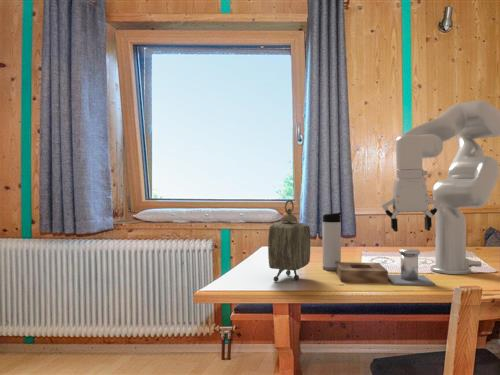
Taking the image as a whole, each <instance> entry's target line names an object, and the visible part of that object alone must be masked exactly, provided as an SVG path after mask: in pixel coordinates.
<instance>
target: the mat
mask: <svg viewBox="0 0 500 375" xmlns="http://www.w3.org/2000/svg"><path fill="white" fill-rule="evenodd" d="M388 282H390V283H391V284H392V285H393V286H420V287H421V286H422V287H424V286H425V287H426V286H427V287H436V286H437V285H436V284H437V283H435V282H433V280H431V279H429V278H428V277H426V276H425V275H424V274H423V275H421V274H418V280H417V281H407V280H402V279H401V274H388Z"/></svg>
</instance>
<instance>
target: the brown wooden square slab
mask: <svg viewBox="0 0 500 375" xmlns="http://www.w3.org/2000/svg"><path fill="white" fill-rule="evenodd" d="M336 274H337V276H338V279H339V280H340V282H341V283H342V282H343V283H345V282H346V283H347V282H348V283H381V284H382V283H383V284H384V283H385V284H386V283H387V284H388V283H389V280H388V275H389V272H388V269H386V268H385V267H384V266H383V265H382V264H381V263H380V262H348V261H347V262H346V261H345V262H344V261H341V262H337V271H336Z"/></svg>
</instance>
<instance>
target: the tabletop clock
mask: <svg viewBox="0 0 500 375" xmlns="http://www.w3.org/2000/svg"><path fill="white" fill-rule="evenodd" d="M284 203H285V204H284V209H285V212H286V214H284V215H283V216H282V218H281V220H280V221H277V222H274V223H271V225H270V226H269V230H268V238H267V239H268V240H267V241H268V242H267V248H268V249H267V250H268V252H267V254H268V257H267V258H268V265H269V268H270V269H274V270H278V272H277V275H276V276H274V277H273V282H276V283H277V282H278V281H279V276H280V275H281V273H283V271H285V275H287V276H290V275H291V274H292V273H291V271H293V273H294V275H293V279H294V280H295V281H298V280H299V279H300V276H299V275H298V274H297V270H301V269H302V268H304V267H306V266H307V265H308V264H309V263H310V261H311V228H310V226H309V225H307V224H305V223H303V222H298V218H297V217H296V215H295V214H292V212H294V207H295V206H294V201H293V200H292V199H287V200H286V201H285V202H284ZM289 203H291V208H287V206H288V204H289Z"/></svg>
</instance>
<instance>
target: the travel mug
mask: <svg viewBox="0 0 500 375" xmlns="http://www.w3.org/2000/svg"><path fill="white" fill-rule="evenodd" d="M342 213H343V212H341V211H339V212H334V213H333V212H332V213H326V214H323V215H322V269H323V270H325V271H329V272H330V271H332V272H337V262H342V260H341V259H342V258H341V257H342V255H341V254H342V251H341V250H342V248H341V246H342V243H341V242H342V241H341V240H342V238H341V237H342V234H341V233H342V232H341V230H342V227H341V226H342V225H341V223H342V222H341V221H342V220H341V219H342V218H341V215H343V214H342Z"/></svg>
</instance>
